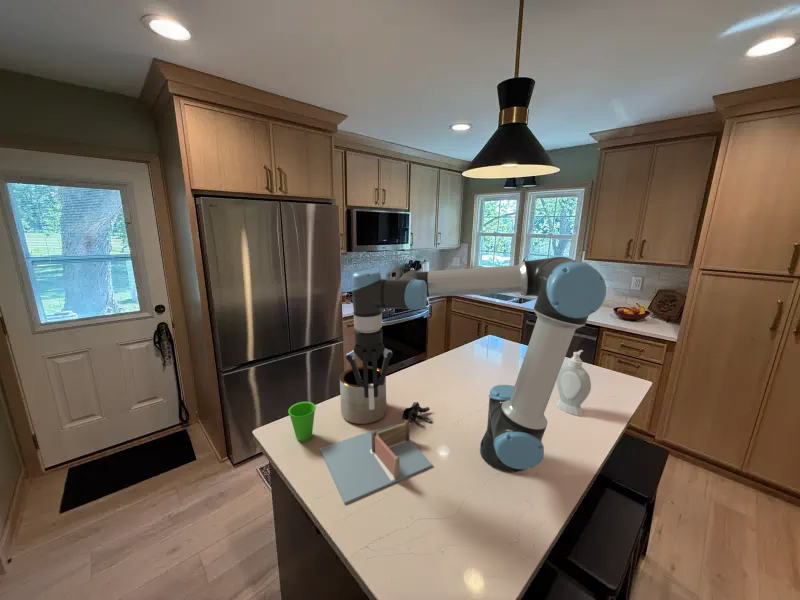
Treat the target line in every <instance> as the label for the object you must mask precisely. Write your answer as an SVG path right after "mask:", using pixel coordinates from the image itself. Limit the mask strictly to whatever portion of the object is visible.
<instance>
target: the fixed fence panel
mask: <svg viewBox="0 0 800 600" xmlns="http://www.w3.org/2000/svg"><path fill="white" fill-rule="evenodd" d="M410 424H411V423H410V421H409V420H404V422H402V423H399V424H397V425H396V426H393V427H390V428H387V429H384V430H381V431H378V436H379V437H380V439H381V440H382V441H383V442H384V443H385V444H386V445H387V446H390V445H393V444H396V443H399V442H401V441H404V440H406V441H409V439H410V430H411V429H410V428H411V426H410ZM371 431H372V452H373V453H375V436H377V432H376V431H373V430H371Z"/></svg>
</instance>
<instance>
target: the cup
mask: <svg viewBox="0 0 800 600" xmlns="http://www.w3.org/2000/svg"><path fill="white" fill-rule="evenodd" d="M316 409H317V406H316V404H314V403H313V402H311V401H310V402H309V401H300V402H297V403H295V404H293V405H291V406H290V407H289V408H288V411H287V413H288V415H289V417H290V419H291V423H292V427H293V431H294V433H295V434H294V435H295V438H296V440H297V441H298V442H303V443H304V442H307V441H309V440H311V438H312V436H313V430H314V422H315V421H314V419H315V411H316Z"/></svg>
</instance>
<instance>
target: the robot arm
mask: <svg viewBox="0 0 800 600" xmlns="http://www.w3.org/2000/svg"><path fill="white" fill-rule="evenodd" d="M606 285H607V284H606V281H605V279H604V277H603V276H602V273H600V271H598V270H597V269H595V267H593V266H591V265H590V264H588V262H587V263H586V262H583V261H581V260H580V261H579V260H574V259H572V258H568V257H565V256H553V257H547V258H540V259H532V260H531V259H530V260H522V261H520V263H518V264H516V265H504V266H503V265H501V266H488V267H485V266H484V267H471V268H459V269H458V268H457V269H445V270H444V269H443V270H440V269H439V270H429V271H418V270H409V271H407V272H405V273H404V274H403V275H402V276H401V277H400V278H399V279H385V278H382V275H381V273H380V271H377V270H361V271H360V270H359V271H356V272H354V273H353V274H352V277H351V286H352V287H351V294H352V305H353V307H352V308H353V326H354V346H353V350H351V351H348V352H346V355H345V358H346V360H347V361H348V363H349V364H350V366H351V368H352V370H353V373H354V376H355V379H356V382H357V385H358V386H359V387H360V386H362V387H364V396H365V398H369V410H371V409H374V397H378V386H379V385H383V384H384V381H385V377H386V376H387V371H388V367H389V364H390V360H391V359H392V357H393V356H394V355H393V351H392V349H388V348H386V346H385V344H384V343H383V341H384V340H383V329H382V327H383V314H382V313H383V312H382V311H383V310H382V309H397V310H398V309H399V310H400V309H401V310H402V309H403V310H410V311H411V310H423V309H424V308H425V307H426V306H427V301H428V298H430V297H431V298H432V297H434V298H435V297H451V296H452V297H453V296H456V297H457V296H473V295H474V296H475V295H493V294H494V295H495V294H511V293H513V294H515V293H519V294H521V295H522V296H523V297H524V296H530V297H531V296H532V297H533V296H534V297H536V300H535V304H534V307H533V309H532V310H533V311H534V313H535V315H536V317H537V318H536V321H535V325H534V327H533V330H532V333H531V336H530V340H529V343H528V345H527V348H526V351H525V355H524V357H523V360H522V363H521V367H520V368H519V371H518V375H517V378H516V381H515V384H514V385H512V384H510V385H509V384H499V385H498V384H497V385H495V386H493V387H491V388H490V391H489V395H488V398H489V401H488V410H487V411H488V414H487V427H486V431H485V433H484V435H483V437H482V439H481V441H480V447H479V454H480V456H481V458H482V460H483V461H484V462H486V464H488V465H489V466H491V467H492V468H494V469H496V470H499V471H501V472H502V471H503V472H506V473H518V472H521V471H524V470H527V469H529V468H534V467H536V466H538V465H540V464H541V462H542V460H543V459H544V456H545V451H544V450H545V449H544V448H545V447H544V444H543V442H542V441H543V437H544V435H545V431H546V430H547V429H546V428H547V426H548V420H547V417H546V416H545V412H546V409H547V407H548V404H549V401H550V398H551V395H552V393H553V390H554V388H555V385H556V384H557V382H556V380H557V377H558V375H559V372H560V369H561V367H562V365H564V364H563V363H564V361H565V360H566V359H565V358H566V356H567V353H568V351H569V347H570V346H571V341H572V339H573V337H574V335H575V332H576V330H577V329H579V328H581V327H584V326H586V323H587V321H588V318H589V316H591V315H592V314H593V313H596V312H597V311H598V310H599V309H600V308H601V307H602V305H603V303H604V301H605V300H606V296H607V286H606ZM382 355H383V361H382V365H381V368H380V369H381V374H380V378H379V379H378V380H377V368H378V362H377V361H378V360H380V358H381V356H382ZM356 356H357V357H358V358H359V360H360V361H362V366H363V375H364V380H362V379H361V376H360V373H359V370H358V367H359V366H358V365H357V361H356ZM369 362H370V363H372V366H371V367H373V384H368V366H369V365H368V363H369ZM386 378H387V377H386Z"/></svg>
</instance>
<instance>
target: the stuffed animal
mask: <svg viewBox="0 0 800 600" xmlns="http://www.w3.org/2000/svg"><path fill="white" fill-rule="evenodd" d="M430 410H431V409H430V407H429V406H427V407H421V406H420V404H419V401H414V402H413V403H412V404H411V406H410V407H407V408H405V409H403V412H402V420H404V421H405V420H409V421H410V424H412V423H413V424H415V425H416V426H417V427H420V428H423V427H424V424H422V423H420V422H419V421H418V420H421V421H424V422H425V423H427V424H430V423H433V420H429V419H428V418H427V417H425V416H423V415H422V414H424V413H427V412H429V411H430ZM412 421H413V422H412Z"/></svg>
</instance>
